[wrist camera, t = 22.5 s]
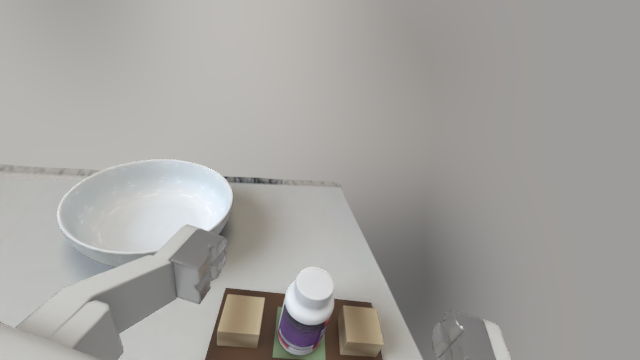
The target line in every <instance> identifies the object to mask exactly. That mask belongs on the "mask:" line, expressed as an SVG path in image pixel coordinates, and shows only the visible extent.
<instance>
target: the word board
mask: <svg viewBox="0 0 640 360" xmlns="http://www.w3.org/2000/svg"><path fill="white" fill-rule="evenodd" d="M284 298H285V294H280V293H270V292H260V291H250V290H240V289H230V288H226V290H225V293H224V296H223V300H222V303H221V307H220V310H219V314H218V317H217V321H216V324H215V327H214V331H213V334H212V338H211V341H210V345H209V348H208V351H207V355H206V358H205V360H382V355H381V349H382V347H383V345H384V342H383V337H382V333H381V328H380V323H379V318H378V314H377V309H376V308H372V305H371V303H368V302H358V301H349V300H339V299H334V309H333V312H332V314H331V317H330V319H329V322H328V324H327V327H326V329H325V332H324V334H323V337H322V339H321V342H320V343H319V345H318V347H317V348H316V349H315V350H314V351H313V352H311V353H309V354H307V355H301V356H300V355H294V354H291V353H289V352H288V351H286V350H285V349H284V348H283V346H282V345H281V343H280V341H279V338H278V324H279V320H280V315H281V311H282V307H283V303H284Z"/></svg>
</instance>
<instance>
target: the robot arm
mask: <svg viewBox="0 0 640 360" xmlns="http://www.w3.org/2000/svg"><path fill="white" fill-rule="evenodd" d="M226 245H227V238H226V237H223V236H220V235H218V234H215V233H212V232H209V231H206V230H203V229H200V228H197V227H194V226H191V225H188V224H187V225H184V226H183V227H181V228H180V229H179V230H178V231H177V232H176V233H175V234H174V235H173V236H172V237H171V238H170V239H169V240H168V241H167V242H166V243H165V244H164V245H163V246H162V248H161V249H160V250H159V251H158V252H157V253H156V254H155V255H154V256H153V255H147V256H144V257H142V258H139V259H136V260H134V261H131V262H128V263H126V264H123V265H121V266H118V267H115V268H113V269H110V270H107V271H105V272H102V273H100V274H97V275H94V276H92V277H89V278H87V279H84V280H81V281H79V282H76V283H73V284H71V285H68V286H66V287H64V288H62V289H61V290H60V291H59V292H58V293H56V294H55V295H54V296H53V297H52V298H50V299H49V300H48V301H47V302H46V303H44V304H43V305H42V306H41V307H39V308H38V309H37V310H36V311H35V312H33V313H32V314H31V315H30V316H29V317H27V318H26V319H25V320H24V321H22V322H21V323H20V324H19V325H18V326H16V327H12V326H9V325H6V324H4V323H1V322H0V360H118V359H119V357H120V356H121V355H122V353H123V345H122V342H121V339H120V336H119V333H121V332H123V331H124V330H126V329H128V328H129V327H131V326H132V325H134V324H136V323H137V322H139V321H141V320H142V319H144V318H145V317H147V316H149V315H150V314H152V313H154V312H155V311H157V310H158V309H160V308H162V307H163V306H165V305H167V304H168V303H170V302H172V301H173V300H175V299H176V297H178V298H181V299H185V300H188V301H191V302H194V303H197V304H200V303H201V301H202V300H203V298H204V297H205V295H206V294H207V292H208V291H209V289H210V281H212V280H214V279H216V278H217V277H218V276H219V274H220V273H221V271H222V269H223V266H224V264H225V260H226V252H225V250H224V248H225V246H226ZM444 317H445V320H443V321H440V322H438V323H437V325H436V326H435V328H434V331H433V335H432V345H433V350H434V352H435V353H436V355H437V357H438V360H511V357H510V354H509V352H508V349H507V346H506V343H505V340H504V338H503V335H502V332H501V330H500V327H499V326H498V325H497V324H496V323H493V322H490V321H487V320H484V319H480V318H478V317H475V316H471V315H468V314H465V313H462V312H459V311H455V310H452V309H450V310H448V311H447V312H446V313H445V314H444Z"/></svg>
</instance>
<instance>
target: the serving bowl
mask: <svg viewBox="0 0 640 360" xmlns="http://www.w3.org/2000/svg"><path fill="white" fill-rule="evenodd" d="M232 205H233V191H232V188H231V186H230V184H229V183H228V181H227V180H226V179H225V178H224V177H223V176H222V175H220V174H219V173H218V172H216V171H214V170H213V169H211V168H208V167H206V166H203V165H200V164H197V163H193V162H188V161H181V160H171V159H157V160H144V161H136V162H130V163H125V164H121V165H117V166H114V167H110V168H107V169H105V170H102V171H100V172H97V173H95V174H93V175H91V176H89V177H87V178H85V179H84V180H82V181H81V182H79V183H78V184H76V185H75V186H74V187H73V188H71V189H70V190H69V191H68V192H67V193H66V195H65V196H64V197H63V199H62V200H61V202H60V204H59V207H58V210H57V222H58V225H59V228H60V230H61V231H62V233H63V234H64V236H65V237H66V238H67V240H68V241H69V242H70V243H71V245H72V246H73V247H75V248H76V249H77V250H78V251H79V252H81V253H82V254H84V255H85V256H87V257H89V258H91V259H92V260H95V261H97V262H100V263H103V264H106V265H110V266H115V267H118V266H121V265H123V264H126V263H128V262H131V261H134V260H136V259H139V258H142V257H144V256H147V255H153V256H154V255H155V254H156V253H157V252H158V251H159V250H160V249H161V248H162V246H163V245H164V244H165V243H166V242H167V241H168V240H169V239H170V238H171V237H172V236H173V235H174V234H175V233H176V232H177V231H178V230H179V229H180V228H181V227H183V226H184V225H187V224H188V225H191V226H194V227H197V228H200V229H203V230H206V231H209V232H212V233H215V234H219V233H220V232H221V231H222V229H223V228H224V226H225V224H226V223H227V221H228V218H229V216H230V213H231V209H232Z"/></svg>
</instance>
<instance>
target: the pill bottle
mask: <svg viewBox="0 0 640 360" xmlns="http://www.w3.org/2000/svg"><path fill="white" fill-rule="evenodd" d="M333 291H334V281H333V279H332V277H331V276H330V274H329V273H328V272H326V271H325V270H323V269H321V268H318V267H307V268H305V269H303V270H302V271H300V272H299V274H298V276H297V278H296V280H295V281H294V282H292V283H291V284H290V286H289V287H288V289H287V291H286V294H285V298H284V303H283V307H282V311H281V315H280V320H279V324H278V338H279V341H280V343H281V345H282V346H283V348H284V349H285V350H286V351H288V352H289V353H291V354H294V355H300V356H301V355H307V354H309V353H311V352H313V351H314V350H315V349H316V348H317V347H318V345H319V343H320V342H321V339H322V337H323V334H324V332H325V329H326V327H327V324H328V322H329V319H330V317H331V314H332V312H333V309H334V297H333Z"/></svg>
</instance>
